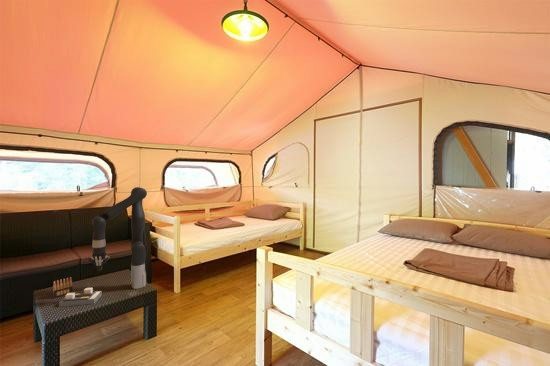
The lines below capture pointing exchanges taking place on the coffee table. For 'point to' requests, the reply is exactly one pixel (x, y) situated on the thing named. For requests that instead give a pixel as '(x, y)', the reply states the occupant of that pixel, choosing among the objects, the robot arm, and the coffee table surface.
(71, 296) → the switch
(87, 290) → the switch
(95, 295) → the switch panel
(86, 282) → the coffee table surface
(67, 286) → the ammunition clip
